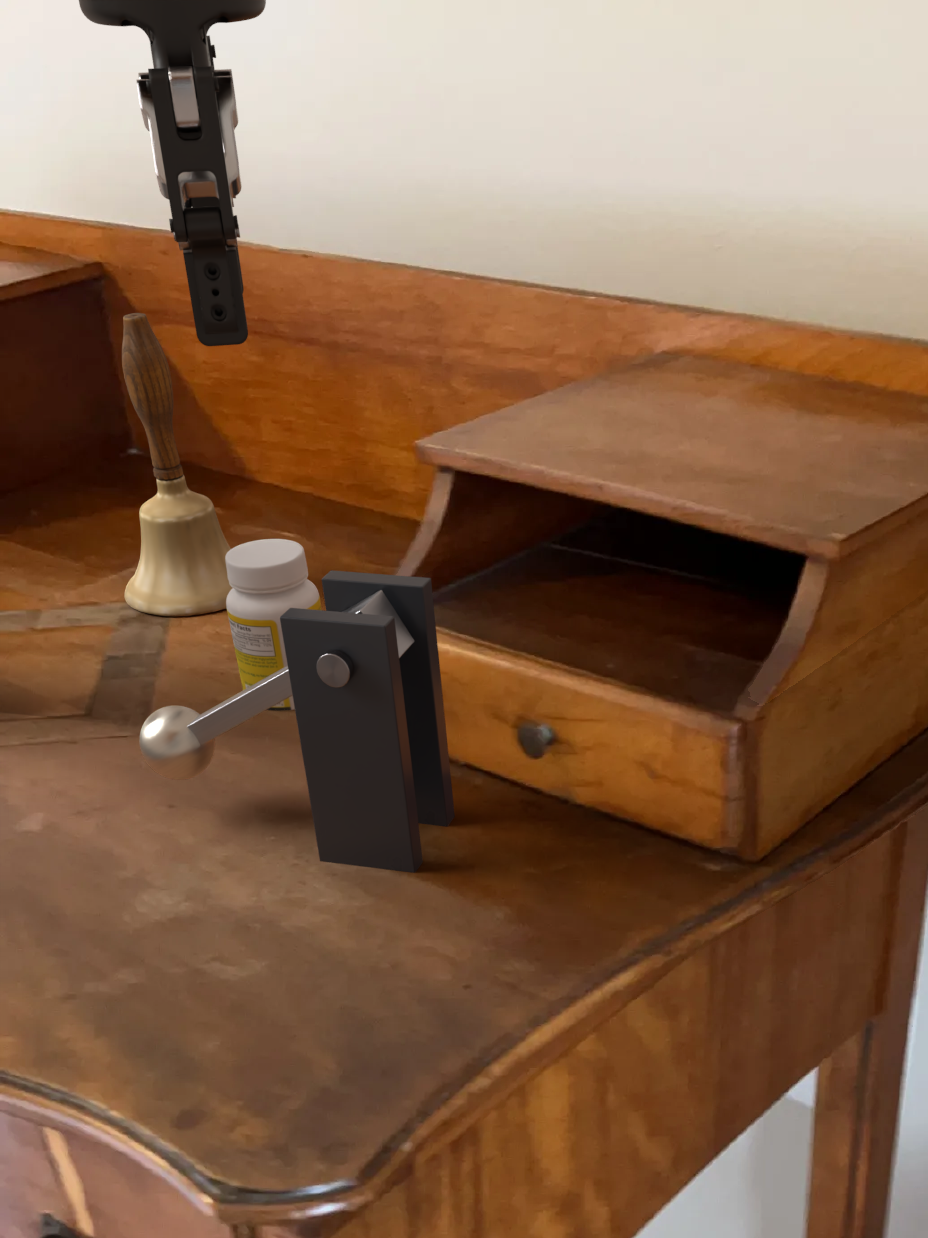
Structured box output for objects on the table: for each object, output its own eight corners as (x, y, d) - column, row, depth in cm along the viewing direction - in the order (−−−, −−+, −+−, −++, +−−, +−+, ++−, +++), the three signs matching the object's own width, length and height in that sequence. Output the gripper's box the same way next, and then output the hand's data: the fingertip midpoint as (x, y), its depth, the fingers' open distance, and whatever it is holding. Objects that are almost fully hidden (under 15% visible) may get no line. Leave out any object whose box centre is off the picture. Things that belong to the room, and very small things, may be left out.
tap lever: (158, 803, 67) (111, 742, 66) (192, 769, 70) (147, 710, 68) (396, 677, 60) (349, 606, 59) (425, 644, 63) (380, 575, 61)
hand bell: (247, 614, 92) (196, 329, 82) (110, 619, 92) (43, 334, 83) (269, 564, 99) (224, 294, 89) (142, 568, 99) (82, 299, 89)
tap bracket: (273, 912, 66) (218, 628, 58) (345, 822, 72) (305, 553, 64) (447, 935, 64) (415, 645, 56) (506, 841, 70) (485, 567, 62)
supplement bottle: (327, 682, 84) (304, 530, 79) (343, 717, 81) (320, 561, 76) (240, 696, 83) (211, 543, 78) (252, 732, 80) (223, 574, 75)
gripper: (68, -125, 65) (144, 291, 75) (41, -120, 54) (134, 366, 64) (246, -129, 66) (297, 282, 76) (255, -125, 55) (313, 354, 65)
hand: (222, 320), depth 70 cm, fingers open, 8 cm apart
